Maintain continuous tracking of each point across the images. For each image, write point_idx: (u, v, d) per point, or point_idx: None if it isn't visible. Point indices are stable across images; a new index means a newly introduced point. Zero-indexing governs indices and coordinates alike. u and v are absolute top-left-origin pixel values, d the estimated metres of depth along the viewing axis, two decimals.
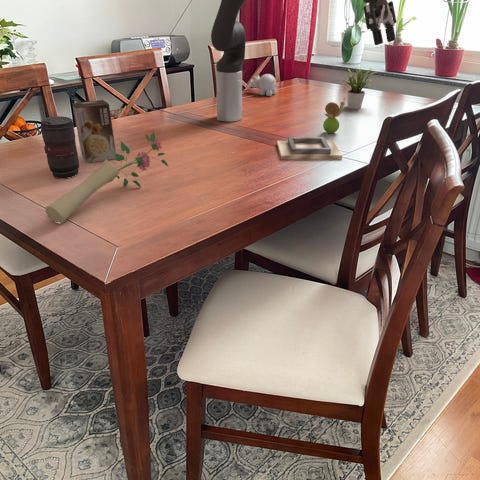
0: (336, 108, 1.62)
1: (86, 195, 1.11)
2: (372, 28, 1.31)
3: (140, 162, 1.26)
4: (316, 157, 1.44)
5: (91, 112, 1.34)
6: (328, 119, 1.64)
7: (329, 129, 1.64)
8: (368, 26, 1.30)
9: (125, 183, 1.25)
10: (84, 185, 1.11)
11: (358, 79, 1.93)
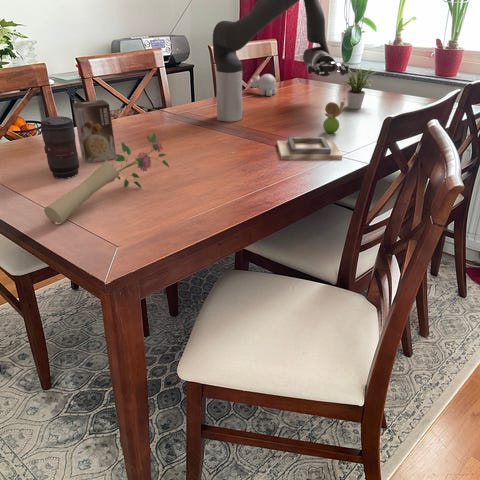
0: (336, 108, 1.62)
1: (85, 196, 1.11)
2: (346, 69, 1.72)
3: (141, 163, 1.26)
4: (316, 157, 1.44)
5: (91, 112, 1.35)
6: (328, 119, 1.64)
7: (329, 129, 1.64)
8: None
9: (126, 183, 1.24)
10: (84, 186, 1.11)
11: (358, 79, 1.93)
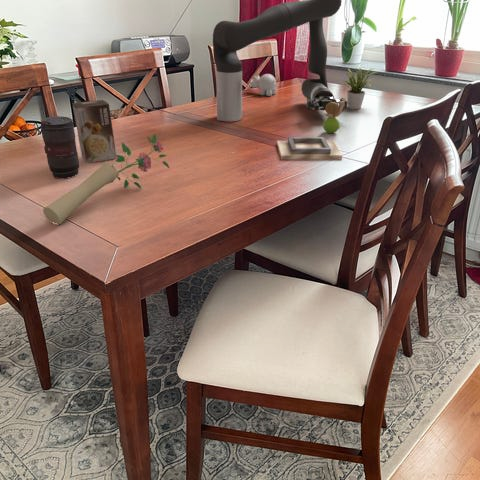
0: (336, 108, 1.62)
1: (85, 196, 1.10)
2: (345, 105, 1.74)
3: (141, 163, 1.25)
4: (316, 157, 1.44)
5: (91, 112, 1.34)
6: (328, 119, 1.64)
7: (329, 129, 1.64)
8: None
9: (126, 184, 1.24)
10: (83, 186, 1.11)
11: (358, 79, 1.93)
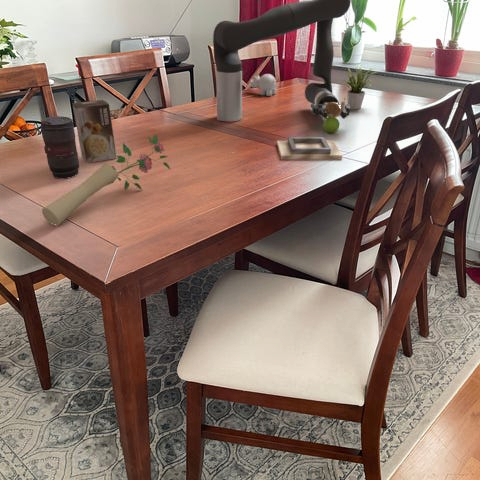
0: (337, 108, 1.62)
1: (84, 197, 1.10)
2: (347, 111, 1.66)
3: (142, 164, 1.25)
4: (316, 157, 1.44)
5: (91, 112, 1.34)
6: (328, 118, 1.64)
7: (329, 129, 1.64)
8: (349, 109, 1.66)
9: (126, 185, 1.24)
10: (82, 187, 1.10)
11: (358, 79, 1.93)
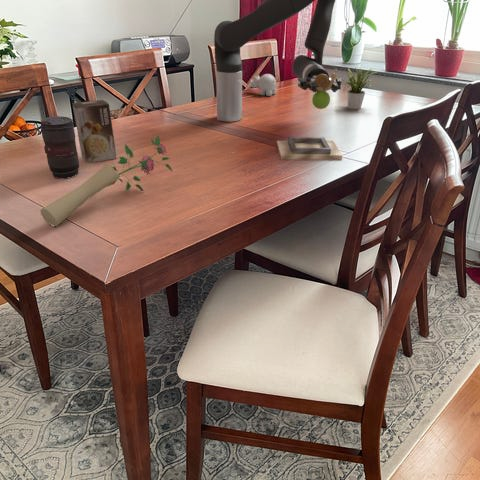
0: (327, 80, 1.46)
1: (83, 198, 1.09)
2: (339, 85, 1.50)
3: (144, 166, 1.24)
4: (316, 157, 1.44)
5: (91, 112, 1.34)
6: (318, 93, 1.48)
7: (318, 104, 1.48)
8: None
9: (128, 186, 1.23)
10: (82, 188, 1.10)
11: (358, 79, 1.93)
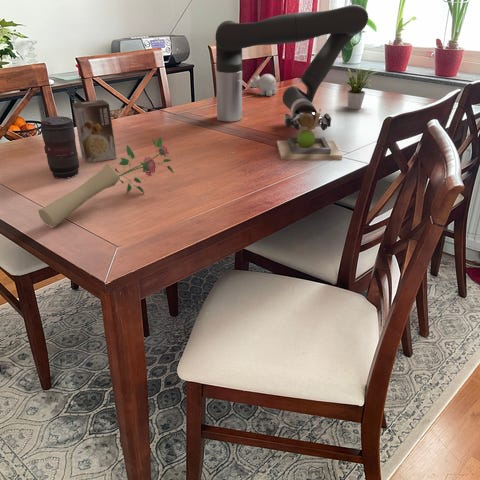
0: (311, 120, 1.45)
1: (82, 199, 1.09)
2: (328, 122, 1.48)
3: (145, 167, 1.23)
4: (316, 157, 1.44)
5: (91, 112, 1.34)
6: (302, 132, 1.47)
7: (303, 144, 1.47)
8: None
9: (129, 188, 1.22)
10: (81, 189, 1.09)
11: (358, 79, 1.93)
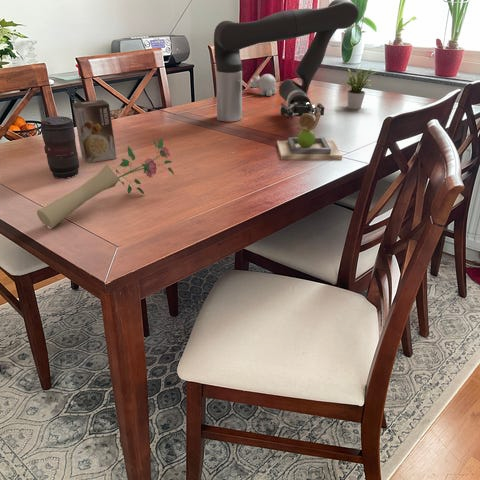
0: (311, 120, 1.45)
1: (81, 201, 1.08)
2: (322, 111, 1.60)
3: (146, 169, 1.22)
4: (316, 157, 1.44)
5: (91, 112, 1.34)
6: (302, 132, 1.47)
7: (303, 144, 1.47)
8: None
9: (129, 189, 1.21)
10: (80, 190, 1.09)
11: (358, 79, 1.93)
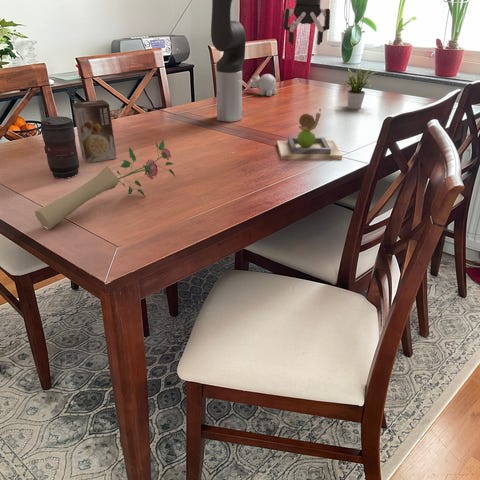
0: (311, 120, 1.45)
1: (79, 202, 1.08)
2: None
3: (147, 170, 1.21)
4: (316, 157, 1.44)
5: (91, 112, 1.34)
6: (302, 132, 1.47)
7: (303, 144, 1.47)
8: (283, 26, 1.53)
9: (130, 191, 1.21)
10: (79, 191, 1.08)
11: (358, 79, 1.93)
